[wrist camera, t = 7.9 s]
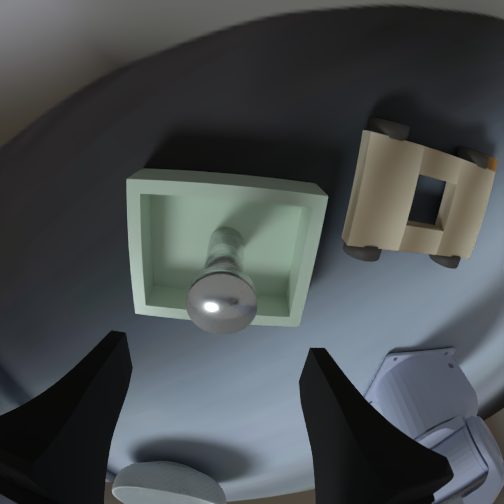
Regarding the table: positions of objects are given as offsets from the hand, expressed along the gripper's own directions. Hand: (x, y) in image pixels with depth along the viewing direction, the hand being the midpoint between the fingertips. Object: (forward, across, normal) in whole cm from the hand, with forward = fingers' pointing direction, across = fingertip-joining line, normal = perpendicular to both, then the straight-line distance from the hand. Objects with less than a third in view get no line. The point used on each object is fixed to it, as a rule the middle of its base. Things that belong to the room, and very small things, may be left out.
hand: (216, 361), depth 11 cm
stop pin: (+10, 0, -1) cm, 10 cm away
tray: (+10, 0, 0) cm, 10 cm away
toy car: (+10, -13, -6) cm, 17 cm away
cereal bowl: (+11, +6, +38) cm, 40 cm away
